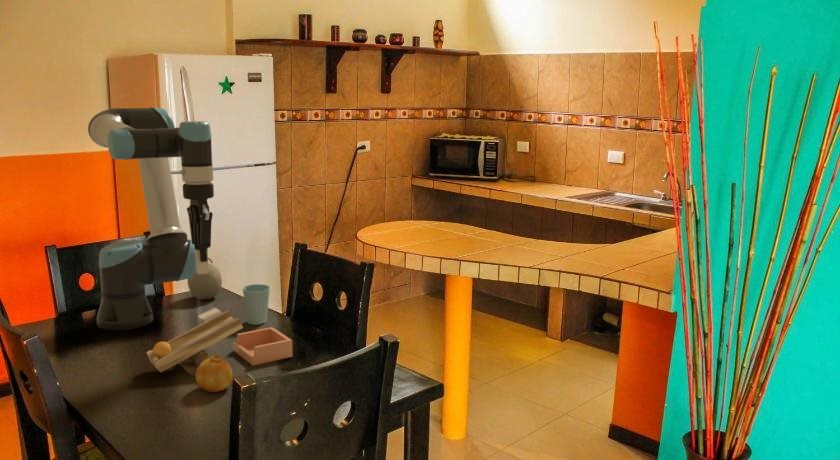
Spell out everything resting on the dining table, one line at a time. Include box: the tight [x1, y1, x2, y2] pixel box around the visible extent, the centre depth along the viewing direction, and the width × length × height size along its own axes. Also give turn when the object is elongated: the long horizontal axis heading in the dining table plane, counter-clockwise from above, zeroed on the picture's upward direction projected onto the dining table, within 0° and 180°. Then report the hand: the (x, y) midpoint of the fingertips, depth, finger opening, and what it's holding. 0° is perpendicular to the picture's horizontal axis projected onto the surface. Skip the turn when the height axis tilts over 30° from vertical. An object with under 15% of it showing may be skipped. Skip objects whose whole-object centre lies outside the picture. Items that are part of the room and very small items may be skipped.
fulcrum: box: [177, 349, 210, 377], centre depth 184 cm, size 12×7×5 cm, turn 36°
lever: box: [146, 306, 244, 373], centre depth 186 cm, size 17×22×3 cm
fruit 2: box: [194, 354, 233, 393], centre depth 170 cm, size 8×8×8 cm
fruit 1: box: [187, 257, 223, 300], centre depth 238 cm, size 10×12×15 cm
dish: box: [233, 326, 293, 367], centre depth 192 cm, size 12×11×4 cm
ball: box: [153, 341, 171, 358], centre depth 178 cm, size 4×4×4 cm
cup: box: [242, 283, 271, 326], centre depth 216 cm, size 8×8×10 cm
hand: (202, 273), depth 192 cm, fingers closed
